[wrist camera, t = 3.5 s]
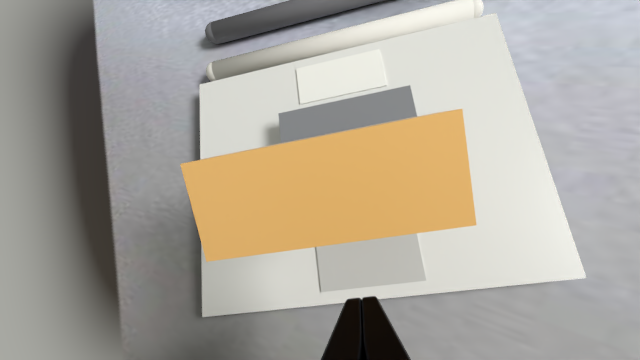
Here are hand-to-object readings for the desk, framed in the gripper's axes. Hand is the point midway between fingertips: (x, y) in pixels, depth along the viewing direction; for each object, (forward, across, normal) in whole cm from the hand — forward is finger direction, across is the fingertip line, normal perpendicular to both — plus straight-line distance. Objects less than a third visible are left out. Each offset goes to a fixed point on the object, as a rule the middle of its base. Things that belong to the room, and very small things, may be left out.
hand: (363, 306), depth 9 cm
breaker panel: (+10, 0, +1) cm, 10 cm away
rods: (+17, 0, -6) cm, 18 cm away
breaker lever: (+8, 0, -2) cm, 8 cm away
